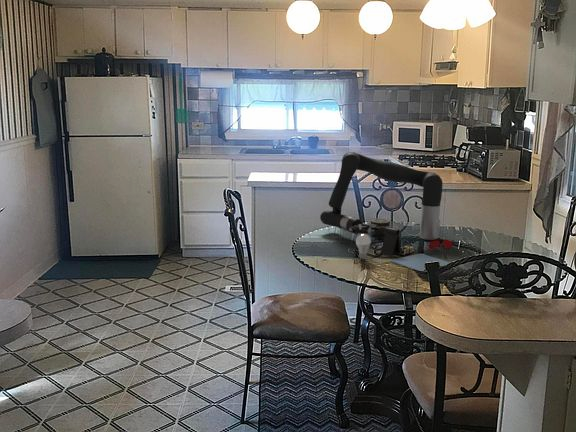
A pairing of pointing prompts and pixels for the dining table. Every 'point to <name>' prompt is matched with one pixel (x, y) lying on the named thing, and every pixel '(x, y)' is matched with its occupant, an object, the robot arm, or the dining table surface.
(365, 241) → the light bulb
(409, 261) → the tray
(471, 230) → the dining table surface
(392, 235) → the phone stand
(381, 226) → the jar
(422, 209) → the robot arm
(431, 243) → the glasses
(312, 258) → the dining table surface
